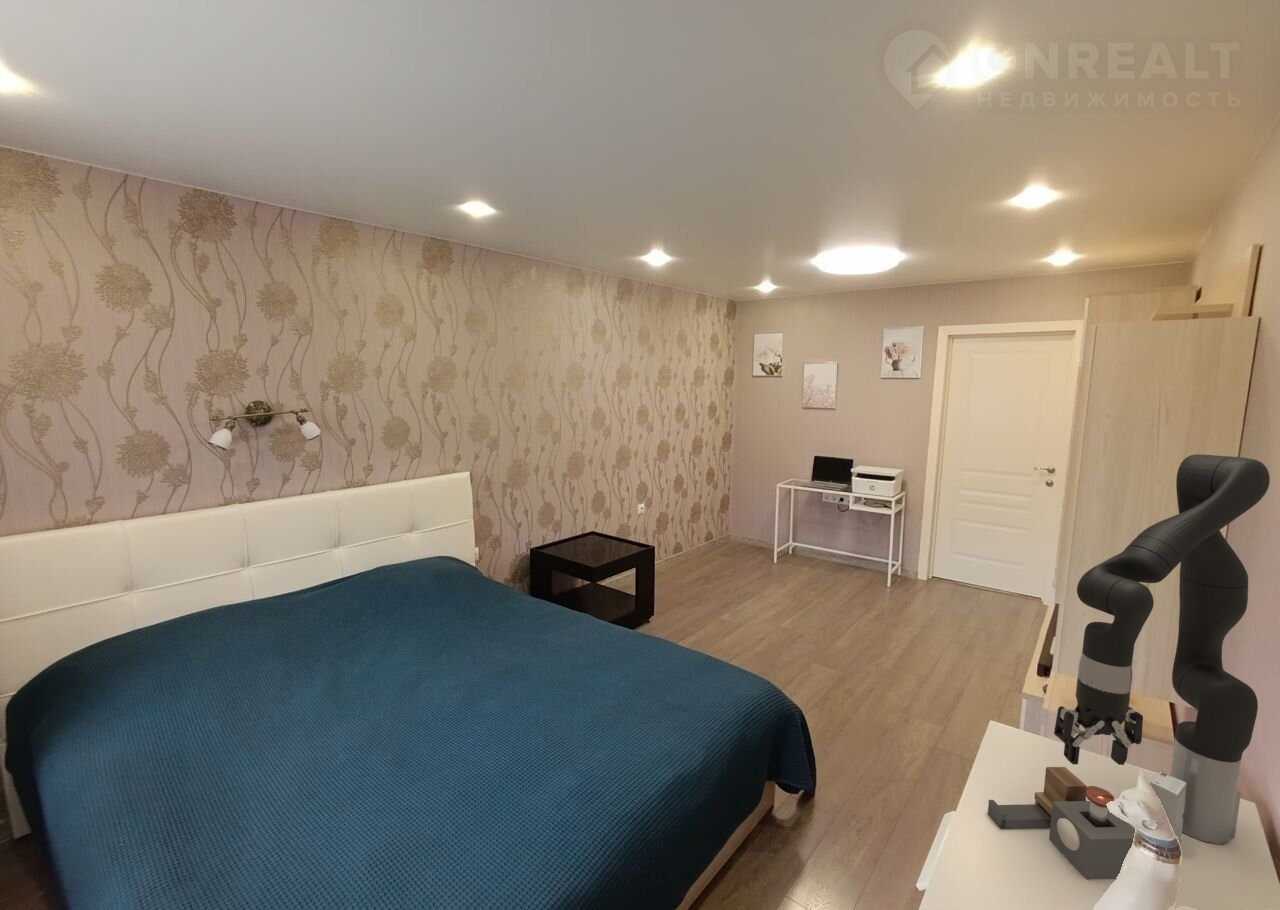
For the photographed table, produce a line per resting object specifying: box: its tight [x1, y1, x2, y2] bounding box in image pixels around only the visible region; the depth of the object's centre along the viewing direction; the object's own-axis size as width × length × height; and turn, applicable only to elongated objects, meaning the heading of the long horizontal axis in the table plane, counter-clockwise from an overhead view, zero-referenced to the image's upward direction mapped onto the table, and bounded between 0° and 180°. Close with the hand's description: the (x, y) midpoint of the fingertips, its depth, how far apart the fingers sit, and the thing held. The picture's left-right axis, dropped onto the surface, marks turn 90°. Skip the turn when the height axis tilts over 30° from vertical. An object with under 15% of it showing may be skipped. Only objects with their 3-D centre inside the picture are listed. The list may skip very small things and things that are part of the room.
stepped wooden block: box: [1034, 766, 1088, 815], centre depth 113 cm, size 7×6×9 cm
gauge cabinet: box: [1048, 800, 1136, 880], centre depth 104 cm, size 10×9×8 cm
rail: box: [987, 799, 1051, 830], centre depth 113 cm, size 20×4×3 cm, turn 91°
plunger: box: [1086, 785, 1115, 827], centre depth 103 cm, size 4×4×7 cm
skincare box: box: [1149, 771, 1186, 843], centre depth 108 cm, size 6×4×12 cm
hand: (1094, 761), depth 104 cm, fingers open, 8 cm apart
